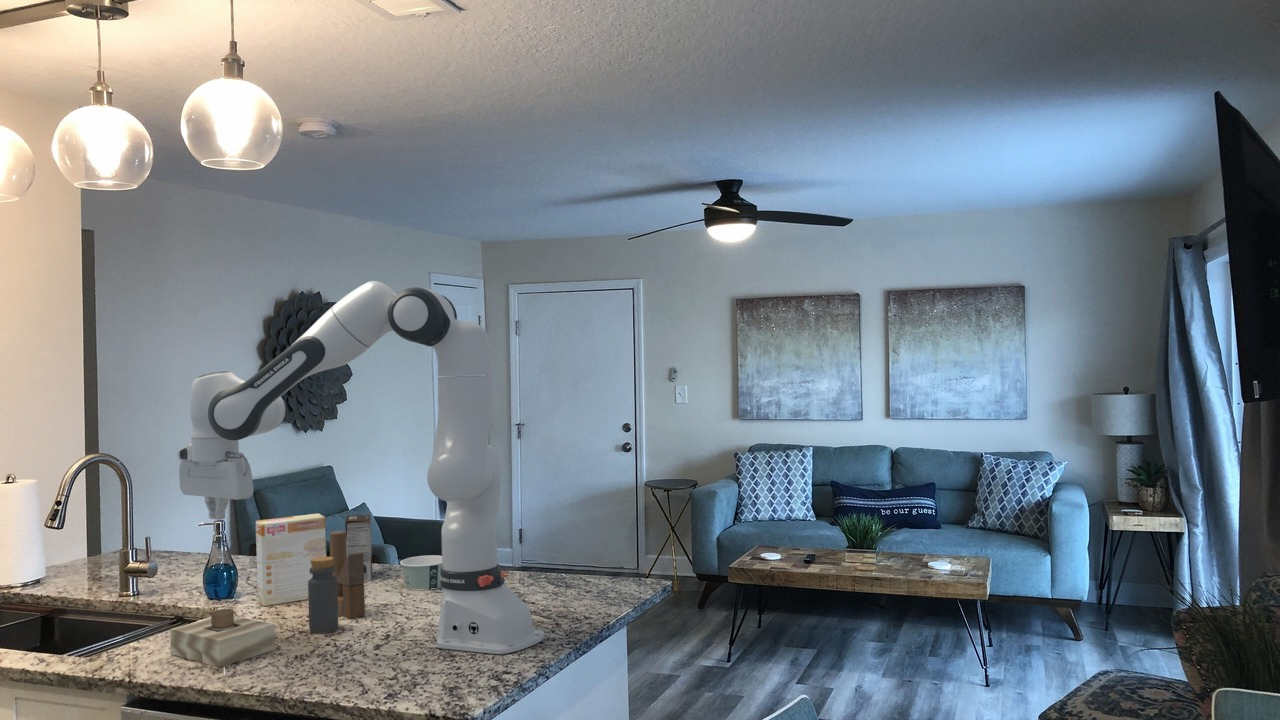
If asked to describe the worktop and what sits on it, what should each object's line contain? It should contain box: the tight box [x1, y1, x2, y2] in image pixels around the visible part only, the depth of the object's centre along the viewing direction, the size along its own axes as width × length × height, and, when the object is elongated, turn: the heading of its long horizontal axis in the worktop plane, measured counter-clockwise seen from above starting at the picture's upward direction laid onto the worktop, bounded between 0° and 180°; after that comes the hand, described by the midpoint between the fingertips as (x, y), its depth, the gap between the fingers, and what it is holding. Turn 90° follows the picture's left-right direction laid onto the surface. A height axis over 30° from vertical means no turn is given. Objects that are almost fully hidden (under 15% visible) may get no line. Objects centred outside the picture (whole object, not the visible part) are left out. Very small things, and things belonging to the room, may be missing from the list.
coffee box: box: [344, 514, 373, 583], centre depth 245 cm, size 9×6×16 cm
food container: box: [399, 554, 442, 589], centre depth 235 cm, size 12×12×6 cm
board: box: [169, 615, 276, 668], centre depth 184 cm, size 16×12×5 cm
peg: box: [210, 608, 235, 632], centre depth 184 cm, size 4×4×8 cm
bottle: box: [307, 556, 339, 634], centre depth 198 cm, size 6×6×15 cm
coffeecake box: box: [255, 513, 327, 607], centre depth 226 cm, size 15×7×20 cm, turn 123°
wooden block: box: [329, 530, 366, 620], centre depth 211 cm, size 4×11×18 cm, turn 44°
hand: (217, 519), depth 191 cm, fingers closed
